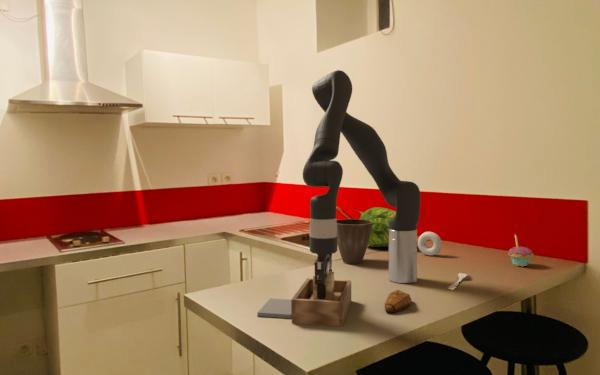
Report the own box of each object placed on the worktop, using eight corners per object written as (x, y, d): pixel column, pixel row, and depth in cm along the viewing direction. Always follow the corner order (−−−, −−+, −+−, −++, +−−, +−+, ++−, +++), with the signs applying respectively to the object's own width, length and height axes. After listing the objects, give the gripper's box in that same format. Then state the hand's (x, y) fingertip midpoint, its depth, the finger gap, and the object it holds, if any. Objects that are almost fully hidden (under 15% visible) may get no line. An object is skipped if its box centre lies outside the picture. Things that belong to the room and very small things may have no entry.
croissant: (399, 317, 120) (399, 298, 119) (376, 312, 124) (376, 294, 123) (419, 303, 130) (419, 286, 130) (397, 299, 134) (397, 282, 134)
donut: (442, 256, 188) (443, 232, 187) (440, 257, 185) (440, 233, 184) (419, 253, 194) (419, 230, 193) (416, 255, 191) (416, 231, 190)
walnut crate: (351, 300, 133) (351, 280, 132) (342, 326, 113) (342, 302, 113) (307, 298, 136) (307, 278, 135) (291, 322, 116) (291, 299, 116)
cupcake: (508, 267, 169) (509, 235, 168) (507, 262, 176) (507, 231, 176) (534, 269, 165) (535, 236, 164) (532, 264, 173) (533, 232, 172)
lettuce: (398, 254, 192) (398, 211, 190) (350, 248, 206) (350, 208, 205) (417, 247, 206) (417, 207, 205) (371, 241, 221) (371, 204, 220)
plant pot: (369, 257, 188) (369, 218, 186) (374, 266, 173) (374, 224, 172) (333, 257, 188) (332, 219, 187) (334, 266, 173) (334, 224, 172)
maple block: (334, 296, 127) (334, 272, 126) (331, 302, 122) (331, 276, 122) (316, 295, 128) (316, 271, 128) (313, 301, 123) (313, 275, 123)
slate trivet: (300, 303, 131) (300, 300, 131) (290, 318, 119) (290, 314, 119) (270, 301, 133) (270, 298, 133) (257, 316, 121) (257, 312, 121)
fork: (445, 297, 143) (445, 289, 142) (463, 275, 160) (463, 267, 159) (454, 299, 141) (454, 290, 141) (471, 276, 158) (471, 269, 158)
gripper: (333, 239, 116) (333, 303, 117) (340, 230, 130) (341, 287, 131) (304, 239, 118) (305, 301, 119) (314, 229, 132) (315, 286, 133)
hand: (323, 294), depth 125 cm, fingers open, 7 cm apart
